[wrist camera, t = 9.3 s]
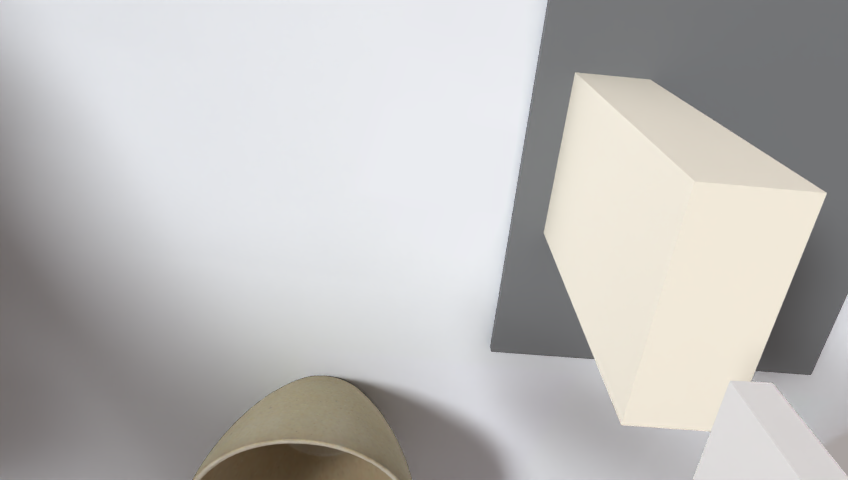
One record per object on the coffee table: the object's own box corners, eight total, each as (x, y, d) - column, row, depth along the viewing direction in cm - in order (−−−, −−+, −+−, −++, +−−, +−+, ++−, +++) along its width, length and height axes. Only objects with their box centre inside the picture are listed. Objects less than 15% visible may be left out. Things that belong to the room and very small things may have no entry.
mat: (490, 346, 31) (491, 351, 30) (579, -189, 21) (582, -191, 21) (806, 369, 31) (810, 375, 31) (1032, -139, 22) (1042, -140, 21)
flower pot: (279, 500, 35) (247, 626, 29) (193, 366, 31) (133, 478, 25) (446, 456, 34) (451, 579, 28) (379, 309, 30) (367, 413, 23)
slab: (543, 233, 28) (621, 425, 17) (575, 72, 25) (695, 181, 14) (611, 238, 28) (731, 432, 17) (651, 79, 25) (829, 193, 14)
